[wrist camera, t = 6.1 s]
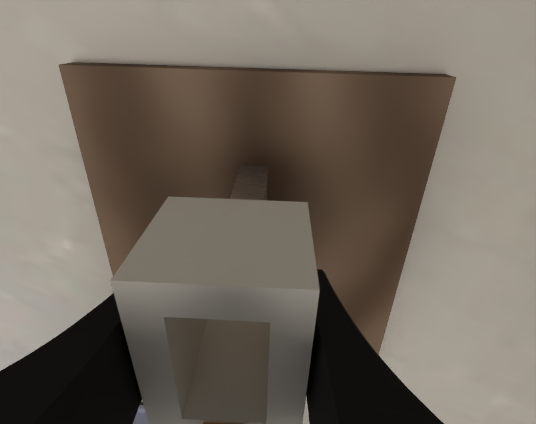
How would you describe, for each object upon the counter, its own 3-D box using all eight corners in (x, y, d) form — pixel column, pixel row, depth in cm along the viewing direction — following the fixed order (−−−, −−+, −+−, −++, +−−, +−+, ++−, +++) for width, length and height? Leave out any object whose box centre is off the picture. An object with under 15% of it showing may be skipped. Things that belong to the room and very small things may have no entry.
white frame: (168, 196, 10) (98, 297, 7) (307, 202, 10) (322, 307, 6) (186, 329, 13) (146, 454, 9) (295, 335, 13) (300, 464, 9)
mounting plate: (143, 358, 27) (137, 372, 26) (73, 62, 16) (58, 64, 15) (366, 370, 26) (370, 384, 25) (444, 74, 16) (456, 77, 15)
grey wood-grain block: (241, 214, 19) (228, 272, 14) (240, 164, 17) (226, 210, 13) (266, 215, 19) (261, 273, 14) (267, 165, 17) (262, 212, 13)
